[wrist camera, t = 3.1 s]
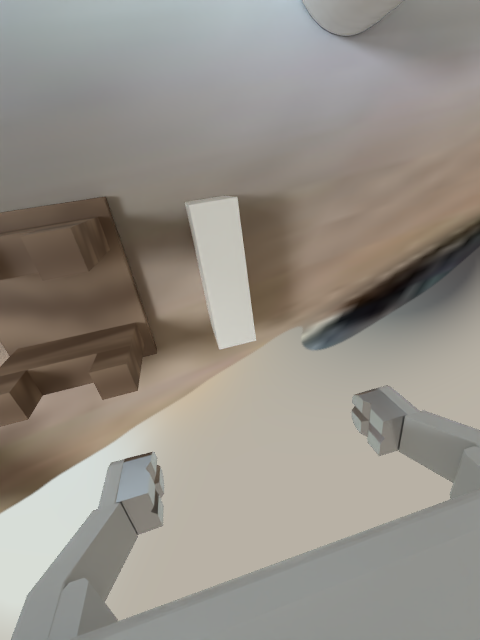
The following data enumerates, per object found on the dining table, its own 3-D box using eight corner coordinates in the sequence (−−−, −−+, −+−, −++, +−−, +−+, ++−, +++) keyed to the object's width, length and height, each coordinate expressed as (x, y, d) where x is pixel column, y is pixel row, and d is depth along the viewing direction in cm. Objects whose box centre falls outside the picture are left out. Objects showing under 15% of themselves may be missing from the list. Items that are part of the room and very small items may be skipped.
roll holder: (-67, 222, 23) (-192, 240, 15) (105, 196, 25) (76, 200, 17) (32, 379, 30) (-15, 445, 23) (157, 349, 33) (153, 400, 25)
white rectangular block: (184, 201, 27) (189, 205, 21) (223, 195, 27) (237, 196, 22) (210, 324, 33) (219, 349, 28) (242, 316, 34) (256, 340, 28)
